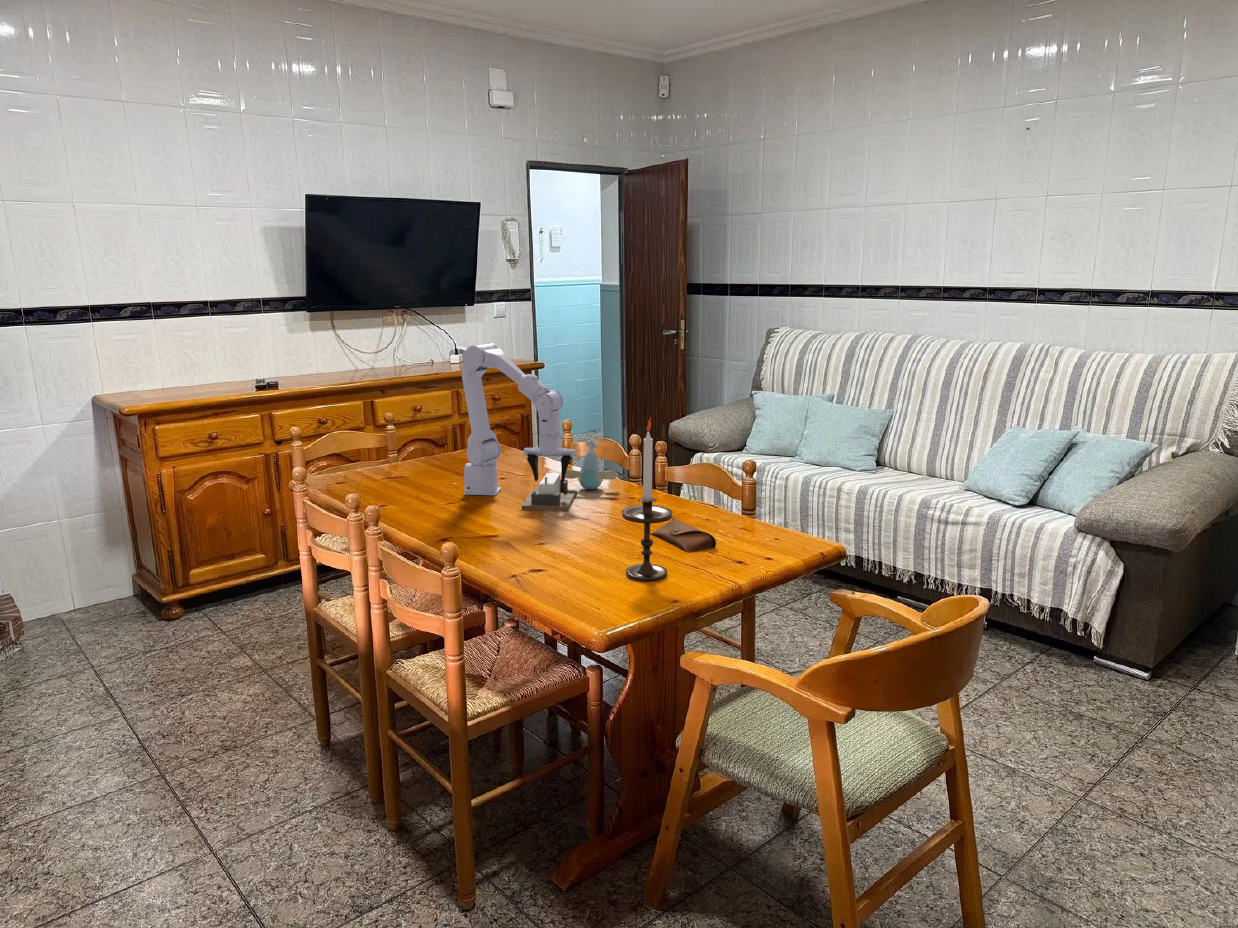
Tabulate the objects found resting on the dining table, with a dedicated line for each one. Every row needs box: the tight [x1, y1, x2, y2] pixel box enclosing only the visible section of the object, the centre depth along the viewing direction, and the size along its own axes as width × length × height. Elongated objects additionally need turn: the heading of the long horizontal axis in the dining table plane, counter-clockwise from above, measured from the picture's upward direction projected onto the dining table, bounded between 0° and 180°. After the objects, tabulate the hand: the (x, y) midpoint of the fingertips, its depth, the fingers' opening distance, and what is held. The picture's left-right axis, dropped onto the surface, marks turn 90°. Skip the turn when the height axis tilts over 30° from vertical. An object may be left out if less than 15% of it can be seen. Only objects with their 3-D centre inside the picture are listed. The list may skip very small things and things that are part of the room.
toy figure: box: [560, 438, 619, 491], centre depth 260 cm, size 17×10×15 cm, turn 84°
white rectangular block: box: [537, 472, 561, 495], centre depth 246 cm, size 14×4×8 cm, turn 175°
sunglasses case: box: [650, 516, 717, 553], centre depth 213 cm, size 18×7×7 cm
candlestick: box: [621, 417, 673, 583], centre depth 185 cm, size 11×11×35 cm
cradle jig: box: [521, 479, 578, 512], centre depth 247 cm, size 19×13×4 cm
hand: (549, 480), depth 247 cm, fingers open, 7 cm apart
